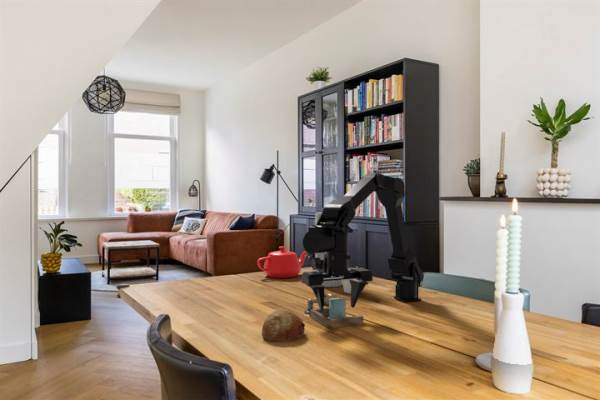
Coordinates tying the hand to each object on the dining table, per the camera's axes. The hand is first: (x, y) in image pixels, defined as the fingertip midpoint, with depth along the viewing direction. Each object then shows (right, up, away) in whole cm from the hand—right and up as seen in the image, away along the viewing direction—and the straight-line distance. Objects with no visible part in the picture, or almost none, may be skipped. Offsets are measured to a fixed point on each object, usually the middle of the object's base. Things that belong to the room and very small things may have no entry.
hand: (337, 308), depth 122 cm
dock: (-1, -3, 0) cm, 3 cm away
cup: (+8, -3, +32) cm, 33 cm away
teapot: (-17, -3, +67) cm, 69 cm away
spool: (0, -3, 0) cm, 3 cm away
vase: (+1, -3, +48) cm, 48 cm away
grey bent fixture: (-5, -3, +13) cm, 14 cm away
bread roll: (-14, -4, -13) cm, 19 cm away
